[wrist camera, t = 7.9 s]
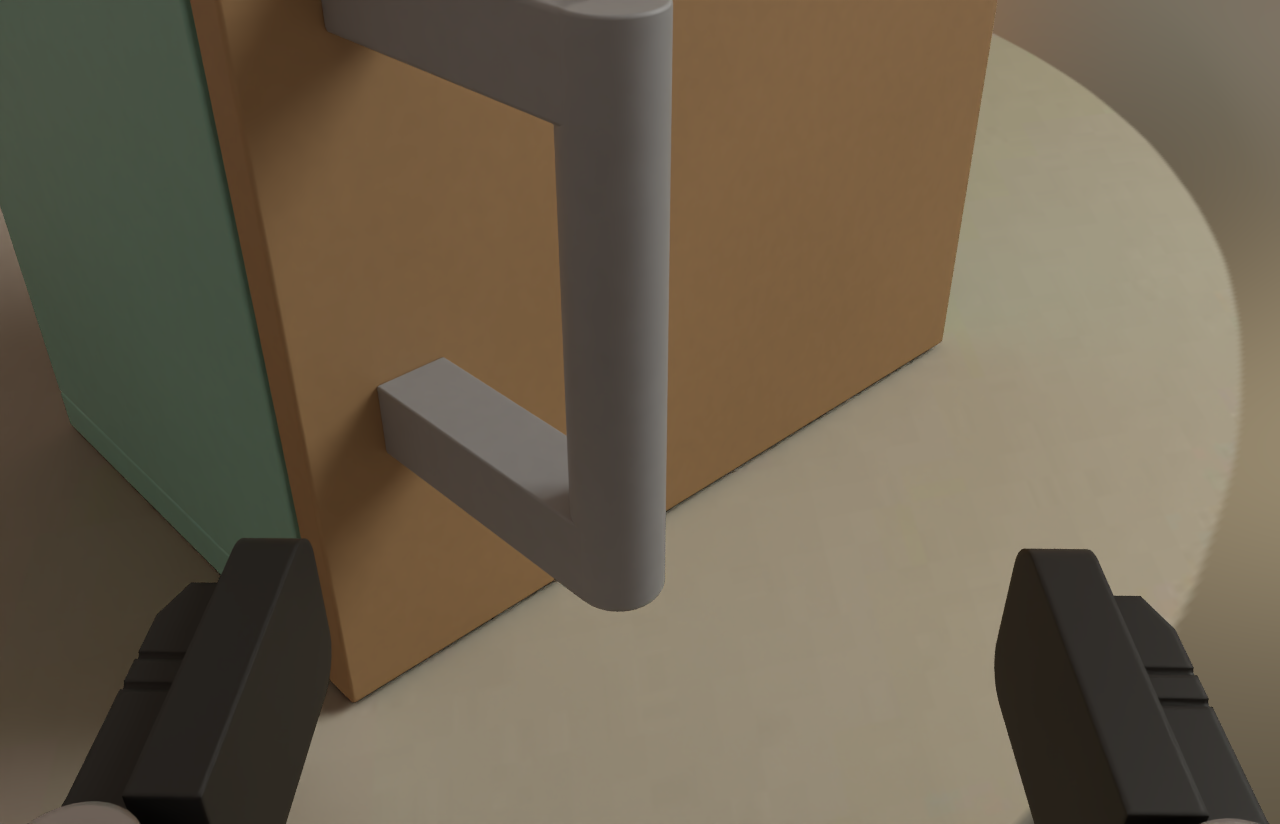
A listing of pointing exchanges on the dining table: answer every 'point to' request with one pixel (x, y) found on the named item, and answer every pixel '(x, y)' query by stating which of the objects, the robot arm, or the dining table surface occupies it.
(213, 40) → the wooden cabinet door
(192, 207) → the green cabinet
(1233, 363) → the dining table surface
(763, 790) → the dining table surface
